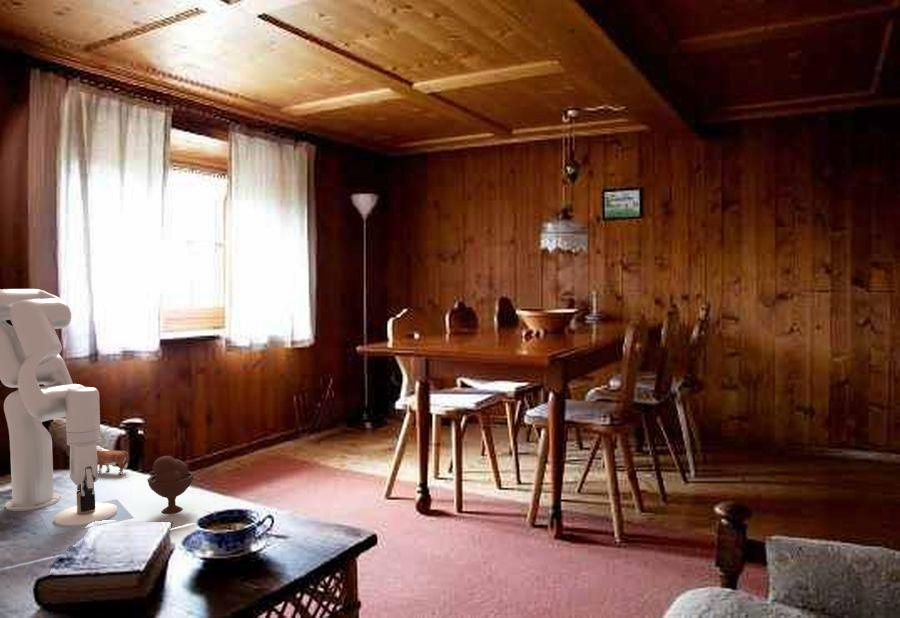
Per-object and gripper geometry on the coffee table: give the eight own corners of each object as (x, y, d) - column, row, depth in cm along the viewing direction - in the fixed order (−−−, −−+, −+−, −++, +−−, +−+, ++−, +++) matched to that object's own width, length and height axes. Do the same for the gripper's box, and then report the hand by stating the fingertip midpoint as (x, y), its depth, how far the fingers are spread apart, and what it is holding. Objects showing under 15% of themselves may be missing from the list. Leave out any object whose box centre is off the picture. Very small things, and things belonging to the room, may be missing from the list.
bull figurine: (98, 469, 210) (97, 443, 209) (132, 472, 206) (131, 446, 205) (87, 472, 205) (86, 447, 205) (121, 476, 202) (120, 450, 201)
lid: (50, 515, 167) (49, 491, 167) (110, 502, 176) (109, 480, 176) (59, 531, 156) (58, 506, 156) (123, 517, 165) (122, 493, 165)
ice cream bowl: (178, 521, 163) (177, 462, 163) (139, 518, 166) (137, 459, 165) (203, 506, 174) (201, 451, 173) (165, 504, 176) (164, 449, 175)
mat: (40, 516, 167) (39, 514, 167) (116, 501, 179) (116, 499, 179) (51, 537, 153) (50, 535, 153) (133, 519, 165) (133, 517, 165)
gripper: (61, 433, 169) (63, 502, 170) (72, 445, 156) (75, 520, 157) (93, 428, 174) (95, 496, 175) (107, 440, 161) (109, 513, 162)
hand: (86, 507), depth 166 cm, fingers closed on lid, 4 cm apart
